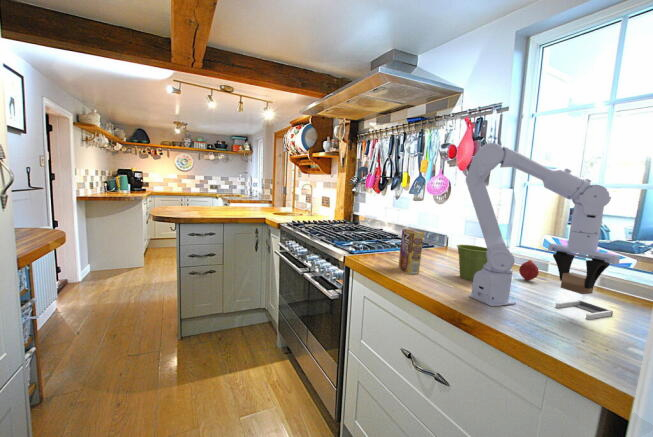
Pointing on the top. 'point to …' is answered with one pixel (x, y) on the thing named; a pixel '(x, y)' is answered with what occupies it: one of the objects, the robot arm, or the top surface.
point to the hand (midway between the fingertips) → (575, 284)
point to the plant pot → (471, 260)
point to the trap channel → (587, 309)
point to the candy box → (410, 251)
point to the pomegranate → (528, 270)
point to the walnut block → (575, 283)
